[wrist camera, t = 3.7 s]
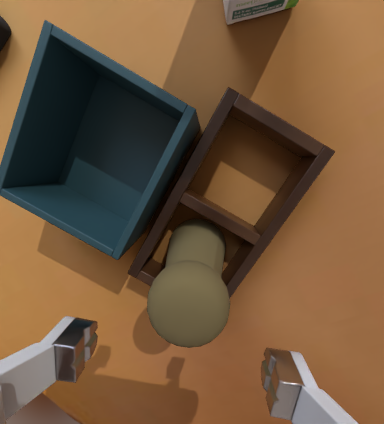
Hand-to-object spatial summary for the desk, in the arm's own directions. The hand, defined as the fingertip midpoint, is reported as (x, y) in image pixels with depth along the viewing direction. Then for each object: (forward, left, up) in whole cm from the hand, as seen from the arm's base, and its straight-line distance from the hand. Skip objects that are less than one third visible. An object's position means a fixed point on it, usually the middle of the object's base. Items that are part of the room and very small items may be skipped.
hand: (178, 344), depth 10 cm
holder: (0, -4, -13) cm, 13 cm away
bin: (+11, -4, -13) cm, 17 cm away
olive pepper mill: (0, 0, -13) cm, 13 cm away
